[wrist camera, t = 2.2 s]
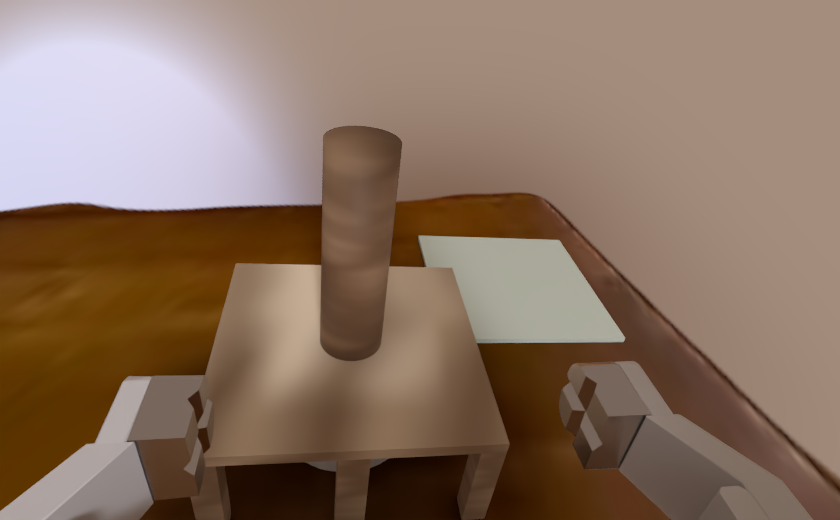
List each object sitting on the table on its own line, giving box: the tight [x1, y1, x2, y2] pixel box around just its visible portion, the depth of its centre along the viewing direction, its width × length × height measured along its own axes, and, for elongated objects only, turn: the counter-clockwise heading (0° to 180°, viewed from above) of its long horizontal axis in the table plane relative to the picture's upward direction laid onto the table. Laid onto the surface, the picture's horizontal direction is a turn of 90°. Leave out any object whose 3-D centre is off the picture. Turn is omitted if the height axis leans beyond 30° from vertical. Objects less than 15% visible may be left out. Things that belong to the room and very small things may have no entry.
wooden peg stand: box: [191, 126, 510, 520], centre depth 26 cm, size 14×14×17 cm
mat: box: [418, 236, 625, 343], centre depth 43 cm, size 14×14×1 cm
